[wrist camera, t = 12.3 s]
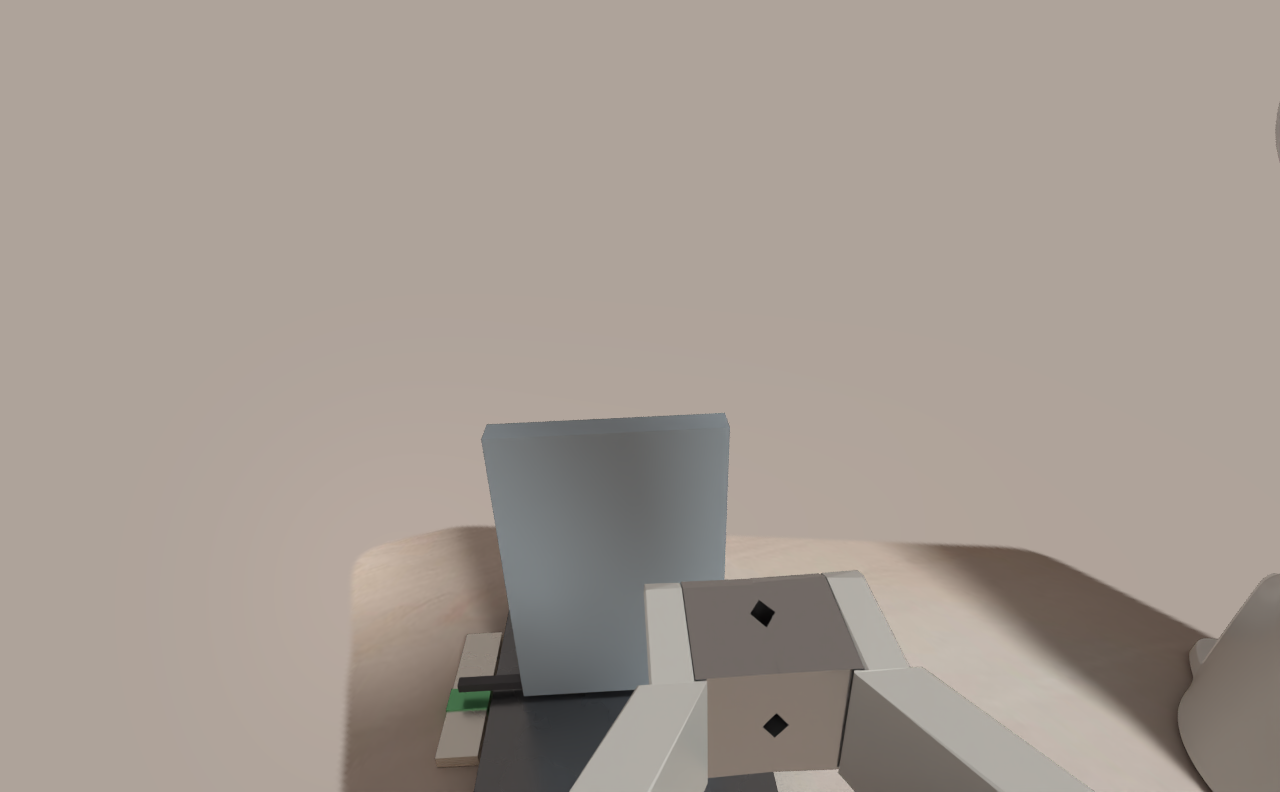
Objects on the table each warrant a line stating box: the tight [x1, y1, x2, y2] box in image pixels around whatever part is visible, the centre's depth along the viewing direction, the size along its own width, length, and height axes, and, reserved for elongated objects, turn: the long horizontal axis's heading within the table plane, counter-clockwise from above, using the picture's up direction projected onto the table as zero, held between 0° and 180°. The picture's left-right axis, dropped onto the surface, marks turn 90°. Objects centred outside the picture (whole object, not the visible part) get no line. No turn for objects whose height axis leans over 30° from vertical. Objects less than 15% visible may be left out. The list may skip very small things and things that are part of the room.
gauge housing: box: [435, 610, 778, 792], centre depth 38 cm, size 19×18×6 cm
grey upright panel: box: [457, 413, 730, 696], centre depth 35 cm, size 16×2×18 cm, turn 93°
